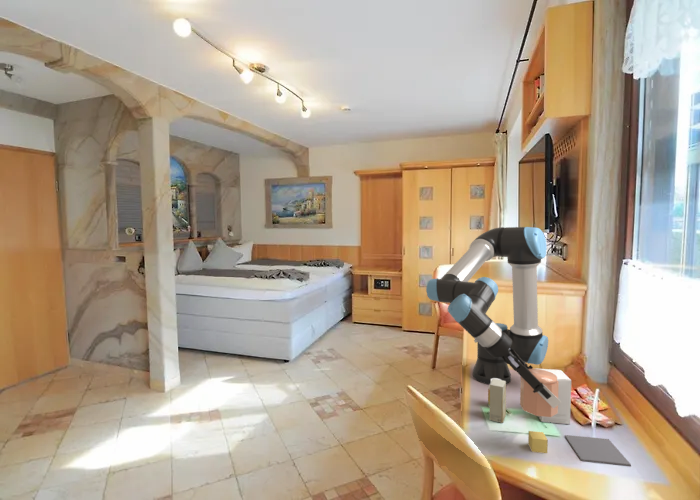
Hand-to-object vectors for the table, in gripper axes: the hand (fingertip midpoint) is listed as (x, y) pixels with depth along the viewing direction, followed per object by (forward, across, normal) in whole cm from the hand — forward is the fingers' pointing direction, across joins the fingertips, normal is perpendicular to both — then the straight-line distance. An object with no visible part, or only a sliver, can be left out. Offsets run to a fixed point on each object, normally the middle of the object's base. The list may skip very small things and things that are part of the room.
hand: (550, 396), depth 104 cm
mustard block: (+9, 0, -13) cm, 16 cm away
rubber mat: (+20, -2, -2) cm, 20 cm away
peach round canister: (0, 0, -5) cm, 5 cm away
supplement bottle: (+4, -24, -18) cm, 30 cm away
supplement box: (+16, -20, -6) cm, 26 cm away
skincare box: (+3, -16, -19) cm, 25 cm away
